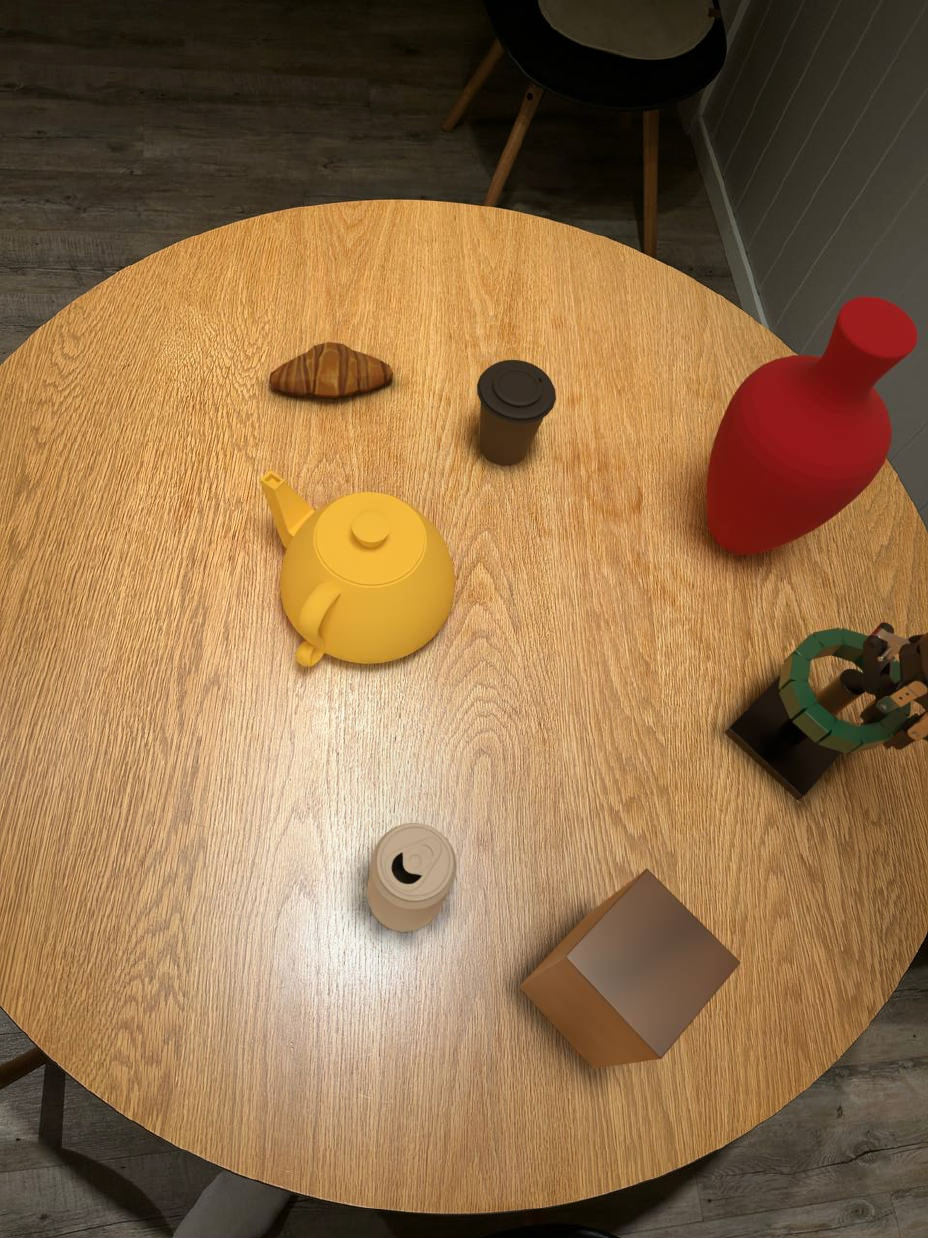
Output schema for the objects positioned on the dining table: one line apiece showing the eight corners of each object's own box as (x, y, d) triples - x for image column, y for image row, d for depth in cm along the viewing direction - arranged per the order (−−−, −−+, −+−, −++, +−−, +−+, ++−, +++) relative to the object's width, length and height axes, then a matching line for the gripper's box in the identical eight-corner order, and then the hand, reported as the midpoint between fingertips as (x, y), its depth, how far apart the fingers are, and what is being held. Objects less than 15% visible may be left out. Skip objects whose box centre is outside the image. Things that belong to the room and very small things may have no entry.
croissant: (387, 357, 106) (389, 324, 101) (397, 404, 103) (399, 373, 99) (266, 365, 103) (263, 332, 99) (272, 413, 100) (269, 381, 96)
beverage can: (351, 889, 79) (353, 855, 68) (409, 840, 81) (420, 800, 71) (400, 950, 77) (409, 925, 66) (458, 898, 79) (476, 866, 69)
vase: (773, 465, 105) (918, 250, 79) (826, 577, 99) (1003, 385, 72) (652, 482, 102) (761, 265, 76) (699, 600, 96) (835, 408, 69)
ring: (918, 700, 82) (934, 689, 79) (852, 777, 77) (867, 768, 75) (824, 619, 84) (836, 606, 82) (755, 689, 80) (767, 678, 78)
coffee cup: (555, 448, 103) (575, 386, 94) (505, 489, 99) (521, 429, 91) (501, 404, 105) (515, 340, 96) (450, 443, 101) (461, 380, 93)
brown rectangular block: (659, 991, 78) (741, 962, 62) (592, 1069, 74) (661, 1059, 59) (586, 915, 80) (647, 867, 64) (518, 987, 77) (564, 956, 61)
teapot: (483, 581, 94) (502, 509, 83) (372, 724, 86) (377, 667, 74) (322, 480, 97) (319, 398, 86) (201, 608, 89) (180, 537, 78)
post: (851, 740, 91) (926, 686, 79) (797, 800, 87) (868, 753, 75) (778, 675, 93) (841, 614, 81) (724, 732, 89) (781, 676, 78)
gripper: (897, 606, 65) (790, 701, 80) (1067, 747, 61) (921, 819, 76) (952, 546, 68) (839, 649, 83) (1117, 678, 64) (967, 760, 79)
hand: (879, 730), depth 80 cm, fingers closed on ring, 1 cm apart
